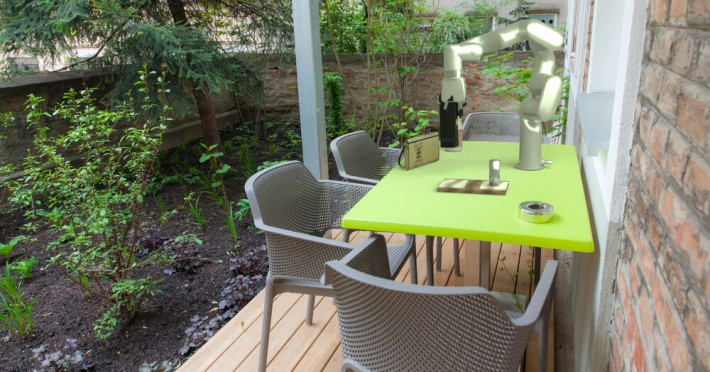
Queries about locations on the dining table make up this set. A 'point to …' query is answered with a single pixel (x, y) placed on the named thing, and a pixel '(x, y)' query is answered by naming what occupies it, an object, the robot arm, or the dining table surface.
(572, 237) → the dining table surface
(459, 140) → the fruit juice
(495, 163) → the pin
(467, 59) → the robot arm
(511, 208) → the dining table surface
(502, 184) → the board
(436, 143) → the clutch purse
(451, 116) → the portable radio
